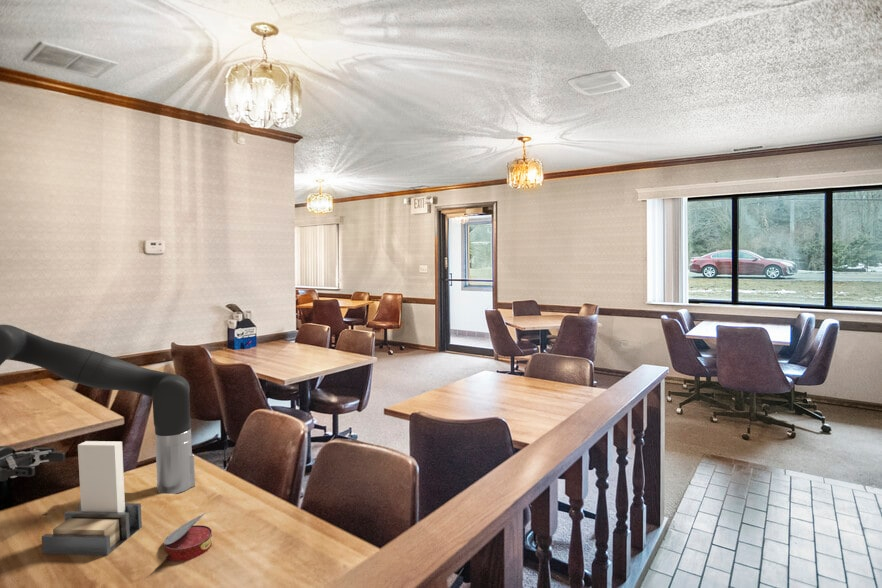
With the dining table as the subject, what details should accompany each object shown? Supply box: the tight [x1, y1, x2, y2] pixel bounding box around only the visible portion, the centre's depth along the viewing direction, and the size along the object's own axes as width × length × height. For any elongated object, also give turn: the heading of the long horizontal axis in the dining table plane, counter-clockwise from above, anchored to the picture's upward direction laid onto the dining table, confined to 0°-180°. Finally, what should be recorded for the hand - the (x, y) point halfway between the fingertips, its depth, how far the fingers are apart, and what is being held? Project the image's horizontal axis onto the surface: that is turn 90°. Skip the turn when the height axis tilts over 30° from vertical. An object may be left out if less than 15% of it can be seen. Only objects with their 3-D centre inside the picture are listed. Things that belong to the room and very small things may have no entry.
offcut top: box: [52, 518, 119, 536], centre depth 112 cm, size 12×5×2 cm, turn 87°
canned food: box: [163, 512, 213, 562], centre depth 113 cm, size 11×10×10 cm
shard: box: [41, 503, 65, 518], centre depth 127 cm, size 11×8×2 cm
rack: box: [41, 502, 143, 557], centre depth 114 cm, size 15×12×8 cm
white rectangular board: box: [77, 440, 126, 512], centre depth 116 cm, size 9×2×22 cm, turn 87°
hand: (49, 463), depth 117 cm, fingers open, 8 cm apart
